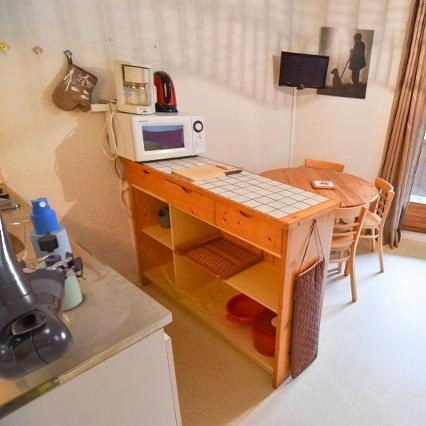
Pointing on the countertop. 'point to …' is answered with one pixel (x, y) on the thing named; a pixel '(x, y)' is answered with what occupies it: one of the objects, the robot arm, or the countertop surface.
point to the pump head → (48, 242)
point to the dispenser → (71, 283)
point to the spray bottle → (47, 228)
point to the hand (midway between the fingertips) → (46, 259)
